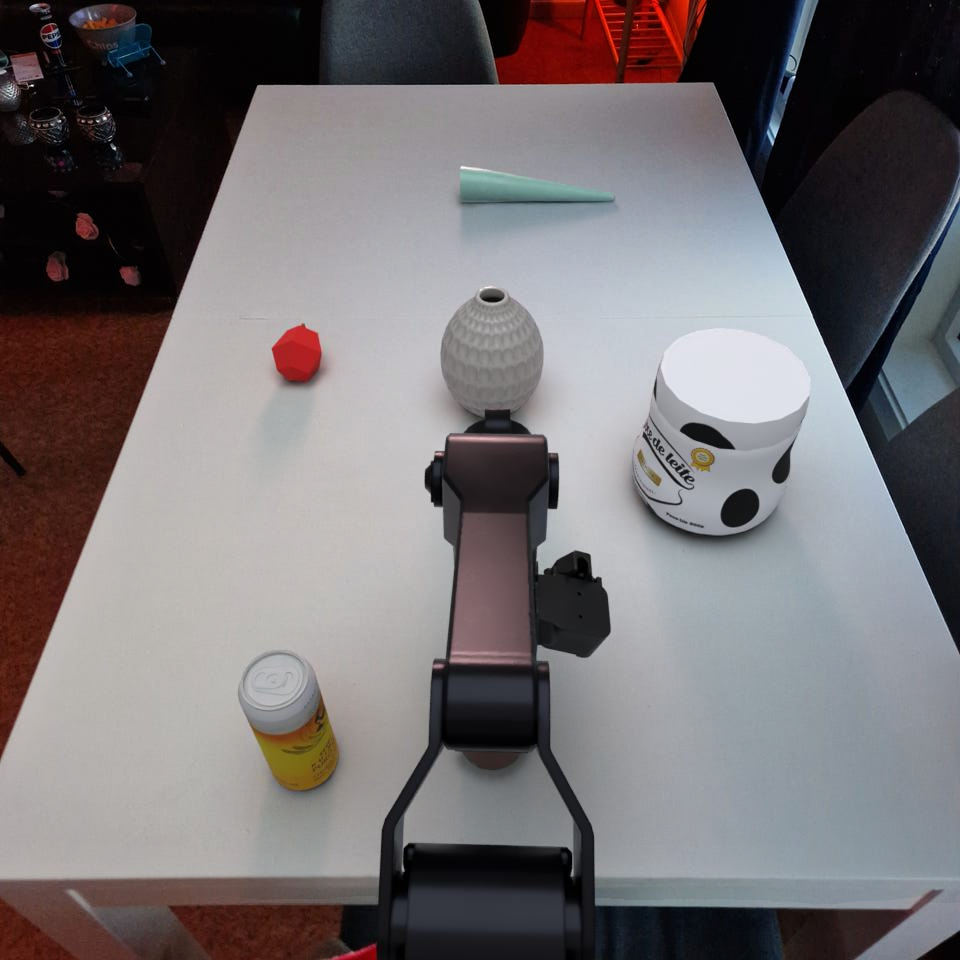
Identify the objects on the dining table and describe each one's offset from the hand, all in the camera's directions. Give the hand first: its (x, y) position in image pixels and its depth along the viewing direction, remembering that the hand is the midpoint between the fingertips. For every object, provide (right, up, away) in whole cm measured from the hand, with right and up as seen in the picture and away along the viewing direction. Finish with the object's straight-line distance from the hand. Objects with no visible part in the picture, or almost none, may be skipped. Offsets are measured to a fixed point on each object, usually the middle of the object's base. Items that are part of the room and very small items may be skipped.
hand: (493, 684), depth 69 cm
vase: (0, +27, +39) cm, 47 cm away
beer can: (-17, -8, +6) cm, 20 cm away
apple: (-25, +32, +43) cm, 60 cm away
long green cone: (+9, +66, +74) cm, 100 cm away
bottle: (0, -7, +7) cm, 10 cm away
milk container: (+25, +16, +28) cm, 41 cm away
